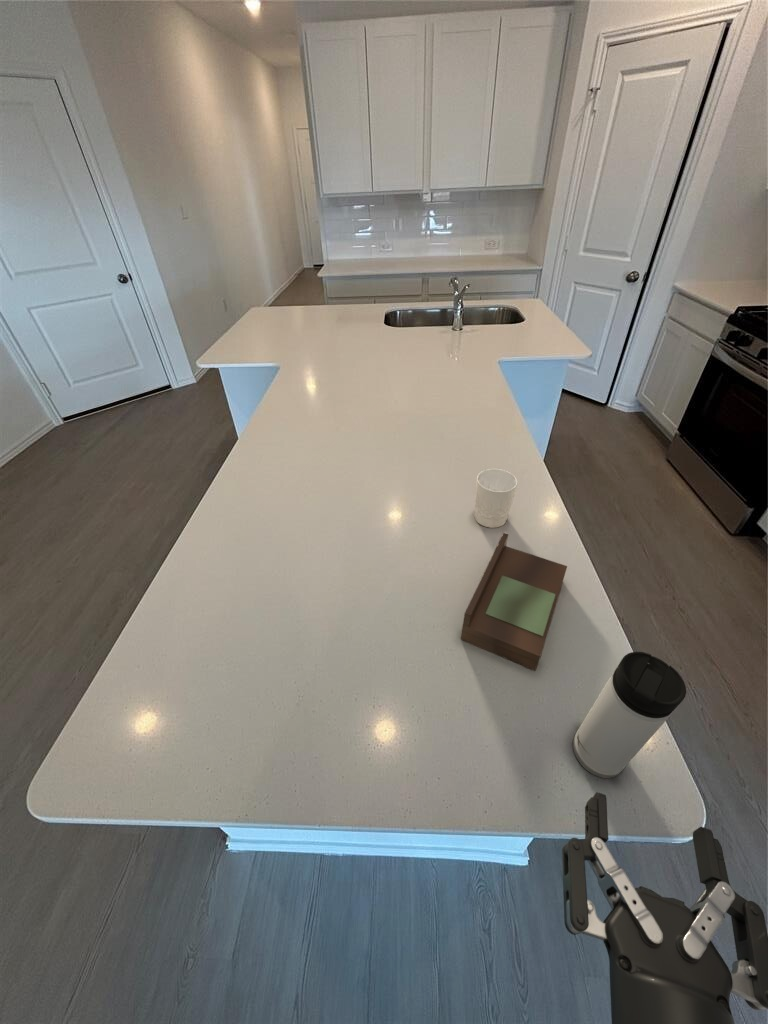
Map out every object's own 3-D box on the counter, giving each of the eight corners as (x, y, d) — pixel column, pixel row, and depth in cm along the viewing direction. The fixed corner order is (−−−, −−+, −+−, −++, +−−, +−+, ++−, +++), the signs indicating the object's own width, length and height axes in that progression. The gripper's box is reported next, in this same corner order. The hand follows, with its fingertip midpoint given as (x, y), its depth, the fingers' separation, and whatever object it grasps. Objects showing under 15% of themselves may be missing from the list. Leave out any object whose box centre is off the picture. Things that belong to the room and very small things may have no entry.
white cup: (511, 510, 95) (520, 472, 89) (506, 533, 90) (514, 495, 83) (475, 502, 97) (481, 465, 91) (467, 525, 92) (473, 487, 85)
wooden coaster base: (561, 580, 80) (571, 554, 75) (535, 670, 67) (544, 645, 62) (497, 559, 84) (503, 532, 80) (460, 639, 71) (464, 613, 67)
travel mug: (562, 756, 57) (610, 677, 44) (584, 718, 61) (634, 635, 48) (610, 792, 54) (677, 719, 41) (630, 750, 58) (698, 671, 45)
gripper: (851, 1165, 24) (761, 829, 36) (577, 1038, 28) (576, 770, 39) (775, 1142, 29) (717, 853, 41) (550, 1036, 33) (556, 798, 44)
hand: (648, 812), depth 40 cm, fingers open, 8 cm apart
